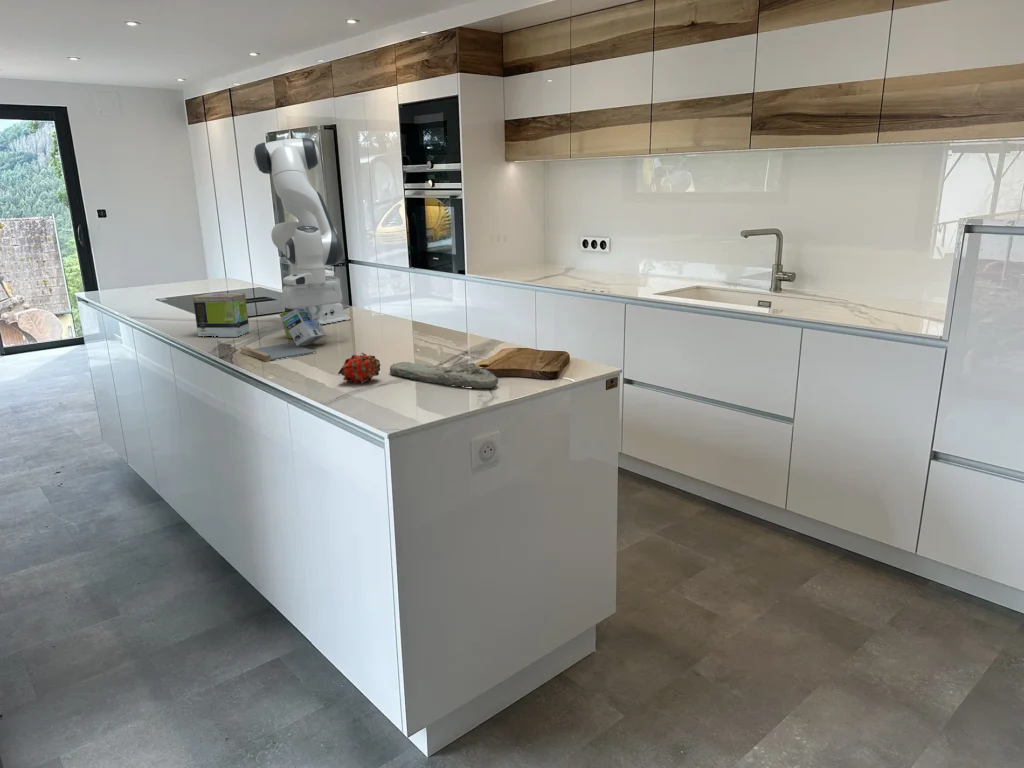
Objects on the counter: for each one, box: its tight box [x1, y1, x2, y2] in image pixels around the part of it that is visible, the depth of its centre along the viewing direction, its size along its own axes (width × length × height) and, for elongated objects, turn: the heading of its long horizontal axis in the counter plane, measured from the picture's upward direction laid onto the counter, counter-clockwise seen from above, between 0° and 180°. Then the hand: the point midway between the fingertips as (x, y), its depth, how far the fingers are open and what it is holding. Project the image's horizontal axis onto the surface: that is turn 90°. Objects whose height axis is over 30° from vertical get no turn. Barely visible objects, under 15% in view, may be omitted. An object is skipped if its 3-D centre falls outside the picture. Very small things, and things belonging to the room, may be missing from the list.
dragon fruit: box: [337, 352, 382, 385], centre depth 188 cm, size 8×8×12 cm
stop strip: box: [240, 346, 271, 362], centre depth 218 cm, size 2×18×2 cm, turn 45°
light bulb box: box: [280, 308, 327, 346], centre depth 231 cm, size 11×7×11 cm, turn 170°
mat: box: [253, 342, 317, 361], centre depth 224 cm, size 15×18×1 cm
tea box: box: [192, 292, 250, 338], centre depth 250 cm, size 15×10×15 cm
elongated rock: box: [389, 361, 499, 389], centre depth 190 cm, size 35×5×10 cm
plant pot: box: [278, 311, 292, 339], centre depth 246 cm, size 9×9×9 cm
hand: (314, 319), depth 229 cm, fingers closed
